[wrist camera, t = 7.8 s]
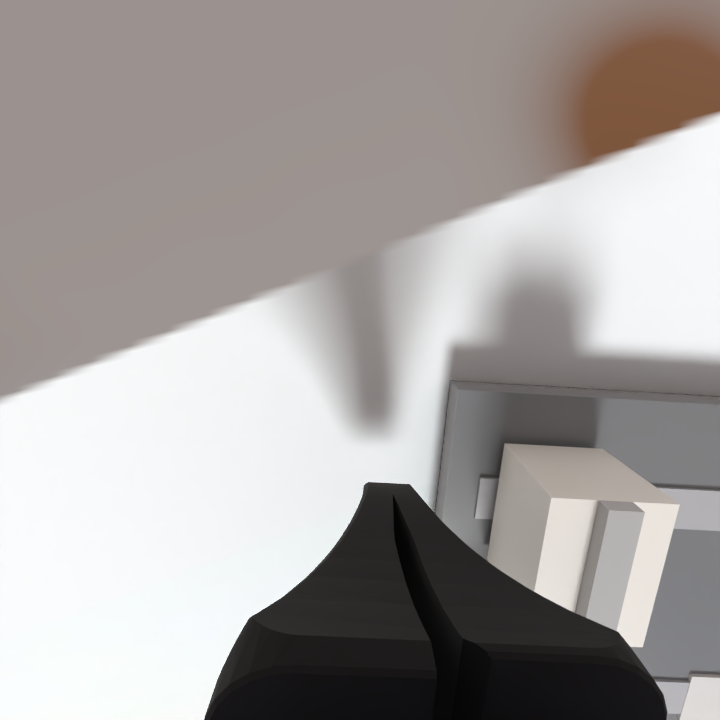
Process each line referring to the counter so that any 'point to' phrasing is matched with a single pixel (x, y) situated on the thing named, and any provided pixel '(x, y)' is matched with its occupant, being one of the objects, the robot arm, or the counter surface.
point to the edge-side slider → (582, 533)
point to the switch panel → (642, 455)
